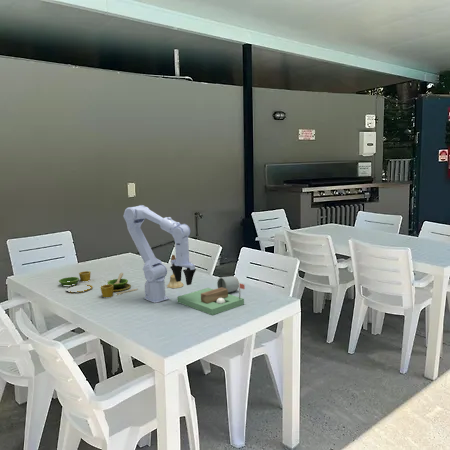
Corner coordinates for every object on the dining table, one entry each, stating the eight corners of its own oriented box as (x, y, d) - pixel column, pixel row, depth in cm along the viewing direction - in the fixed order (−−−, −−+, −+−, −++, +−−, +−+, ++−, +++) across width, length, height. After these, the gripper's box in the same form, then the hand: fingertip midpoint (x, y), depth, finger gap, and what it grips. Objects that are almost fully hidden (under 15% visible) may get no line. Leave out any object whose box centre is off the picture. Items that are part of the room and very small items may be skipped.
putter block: (201, 301, 189) (200, 293, 188) (221, 294, 196) (221, 287, 196) (207, 303, 186) (206, 295, 185) (228, 296, 194) (227, 289, 193)
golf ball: (215, 308, 188) (213, 299, 189) (222, 306, 191) (220, 297, 191) (221, 307, 185) (218, 298, 186) (228, 305, 188) (225, 296, 188)
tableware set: (141, 291, 217) (140, 278, 216) (87, 304, 199) (85, 291, 198) (103, 275, 247) (102, 264, 246) (53, 286, 230) (52, 274, 229)
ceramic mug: (240, 291, 208) (239, 276, 207) (226, 295, 204) (225, 279, 202) (227, 287, 217) (226, 272, 216) (213, 290, 212) (212, 275, 211)
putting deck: (177, 302, 197) (176, 281, 195) (208, 292, 208) (207, 273, 207) (215, 316, 178) (214, 293, 176) (247, 305, 189) (246, 284, 188)
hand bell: (167, 289, 216) (165, 257, 214) (166, 284, 225) (164, 253, 222) (184, 287, 218) (182, 256, 216) (182, 283, 226) (181, 252, 224)
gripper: (165, 251, 193) (166, 281, 196) (185, 256, 183) (186, 288, 185) (178, 249, 198) (179, 278, 200) (198, 253, 187) (199, 284, 190)
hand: (183, 282), depth 193 cm, fingers open, 7 cm apart
